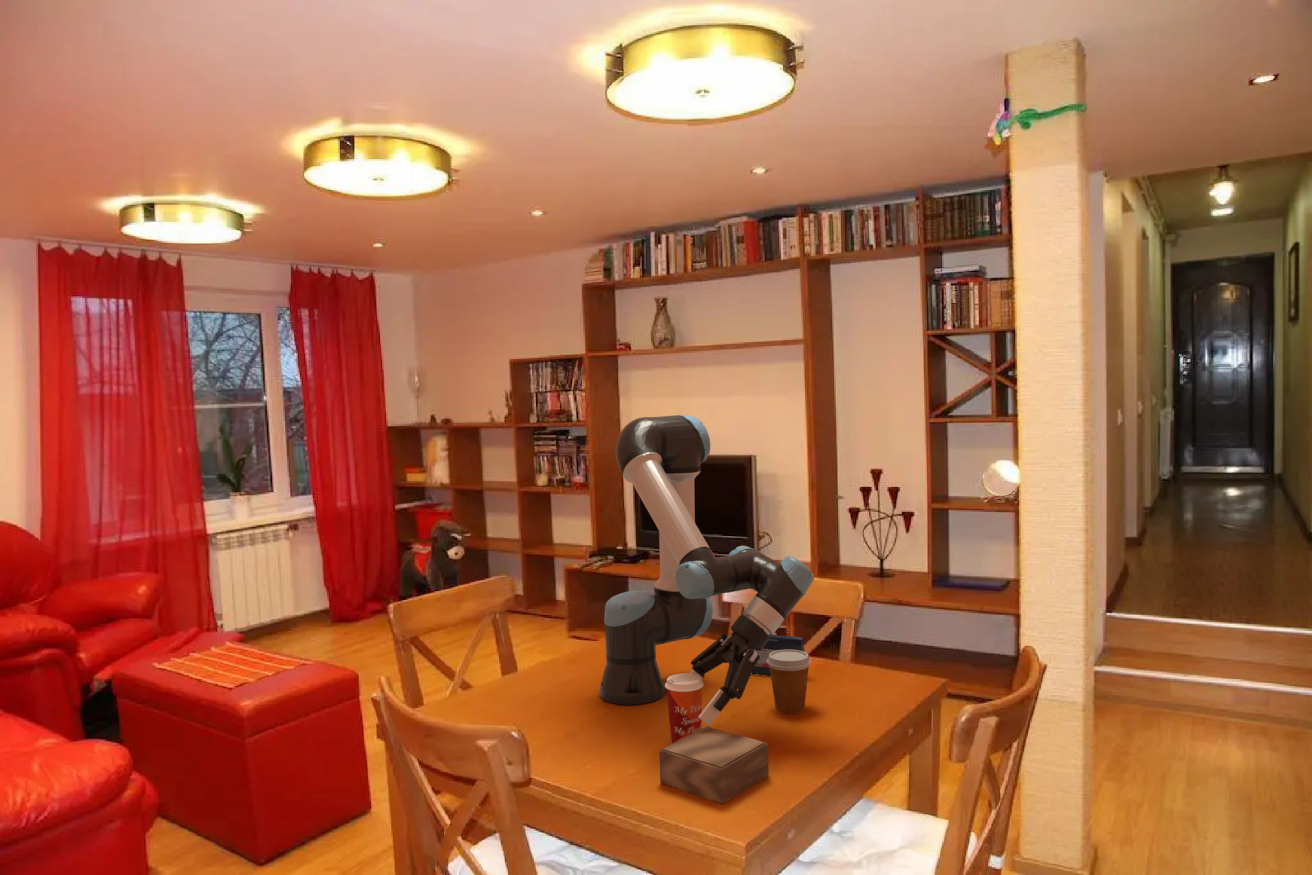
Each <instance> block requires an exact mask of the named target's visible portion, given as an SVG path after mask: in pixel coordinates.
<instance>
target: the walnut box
mask: <svg viewBox="0 0 1312 875" xmlns="http://www.w3.org/2000/svg"><path fill="white" fill-rule="evenodd" d="M768 748H769V743H767V742H765V741H761V740H758V739H755V738H750V737H747V736H744V735H740V734H737V733H733V732H729V731H725V730H723V729H722V730H721V729H719V728H715V727H711V726H708V725H707V726H704V727H703V728H702V727H701V729H700V730H698V731H697V732H695V733H693V734H691V735H689V736H687V737H685V738H683V739H681V740H679V741H677V742H675V743H673V744H672V743H670V744H669V745H667V746H665V747H663V748H661V749H659V750H658V752H659V777H660V778H659V779H660V784H663V783H665V784H664V785H666V784H667V786H668V785H669V786H668V787H671V786H672V788H674V787H676V788H675V789H677V788H678V790H680V789H681V791H683V792H686V791H687V792H686V793H688V794H692V795H695V796H697V795H698V797H700V796H701V798H704V799H707V800H710V801H712V800H714V801H713V802H715V801H717V802H716V803H718V802H719V803H718V804H721V803H722V804H721V805H724V804H726V803H727V802H729V801H730V800H732V799H733V797H734V798H735V797H737V796H738V795H740V794H742V793H743V792H745V791H746V790H748V789H749V787H750V788H752V787H754V785H756V784H758V783H759V782H760V780H761V781H762V780H764V779H766V778H768V777H769V776H768V775H769V749H768ZM763 778H764V779H763ZM755 783H756V784H755ZM741 792H742V793H741ZM736 795H737V796H736ZM731 798H732V799H731ZM728 800H729V801H728ZM726 801H727V802H726ZM725 802H726V803H725ZM723 803H724V804H723Z"/></svg>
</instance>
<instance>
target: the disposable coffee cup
mask: <svg viewBox="0 0 1312 875" xmlns="http://www.w3.org/2000/svg"><path fill="white" fill-rule="evenodd" d="M811 660H812V659H810V656H809V654H808V653H807V652H805V651H804V652H803V651H799V650H777V651H774V652H771V653H770V654H769V657H768V659H767V663H768V665H769V668H770V674H771V677H770V680H771V686H772V693H773V699H774V700H773V701H774V706H775V710H776V711H777V712H778V713H781V714H787V715H794V714H800V713H803V712H804V711H805V708H806V699H807V698H806V697H807V690H808V689H807V688H808V687H807V686H808V676H809V667H810V665H811V662H812V661H811Z"/></svg>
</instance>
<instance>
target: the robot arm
mask: <svg viewBox="0 0 1312 875" xmlns="http://www.w3.org/2000/svg"><path fill="white" fill-rule="evenodd" d="M710 453H711V439H710V435H709V432H708V430H707V427H706V425H704V423H703V422H702V421H701V420H700V419H699V418H698V417H696V416H693V415H684V414H683V415H681V414H676V415H664V416H663V415H662V416H651V417H650V416H649V417H648V416H643V417H639V418H636V419H634V420H631V421H630V422H628V423H627V424H626V425H625V426H624V427H623V428H622V430H620V433H619V434H618V437H617V440H616V445H615V459H616V463H617V466H618V469H619V471H620V473H621V475H622V476H623V478H624V480H625V481H626V482H628V483H632V486H633V487H634V489H635V490H636V492H637V494H638V496H639V497H640V499H641V501H642V503H643V505H644V506H645V508H646V510H647V512H648V514H649V515H650V517H651V519H652V520H653V522H654V524H655V526H656V528H657V530H658V532H659V536H658V538H659V578H658V579H657V580H656V581H655V582H654V584H653V593H652V592H651V591H649V590H646V589H645V590H644V589H643V590H641V589H640V590H639V589H638V590H634V591H633V590H630V591H629V590H628V591H624V592H622V593H618V594H616V595H614V596H612V597H610V598H608V600H607V601H606V603H605V606H604V617H603V622H604V630H605V631H604V632H605V634H604V635H605V652H606V653H605V655H606V662H605V667H604V670H603V674H602V681H601V682H600V685H599V692H600V693H599V694H600V698H601V699H602V700H603V701H604V702H607V703H610V704H615V705H627V706H628V705H630V706H633V705H643V704H648V703H651V702H655V701H657V700H659V699H661V698H662V697H664V696H665V692H666V691H665V690H666V687H665V681H664V679H663V678H662V676H661V672H660V668H659V665H658V662H657V652H656V651H657V646H659V645H663V644H664V645H665V644H667V643H672V642H678V641H682V640H690V639H693V638H694V637H699V636H701V635H703V634H704V633H705V632H706V631H707V630H708V628H709V626H710V624H711V622H712V619H713V618H712V617H713V602H712V600H711V599H710V597H712V596H718V595H722V594H726V593H727V594H729V593H735V592H740V591H745V590H752V591H754V592H757V593H756V594H755V596H753V597H752V599H751V600H750V601H749V603H748V604H747V605H746V607H744V609H743V612H742V613H743V614H741V615H739V616H738V617H737V618H736V619H735V621H734V622H733V623H732V625H731V626H730V630H731V632H732V633H733V635H731V636H729V635H728V634H727V633H726V632H723V633H721V634H720V636H719V637H718V638H717V639H716V640H715V641H714V642H713V643H712V644H710V645H709V646H708V647H707V648H705V649H704V650H703V651H702V652H701V653H699V654H698V655H696V656H695V657H694V658H693V659H692V660H691V662H690V664H691V665H692V666H691V669H692V670H691V671H690V672H688V673H689V674H695V675H698V676H700V678H701V679H702V680H703V679H705V677H706V676H705V674H707V673H709V672H710V671H712V670H714V669H715V668H717V667H719V666H720V665H723V664H728V669H727V672H726V676H725V680H724V682H723V686H721V687H720V688H719V689H718V691H716V693H715V695H714V696H713V697H712V698H711V700H710V701H709V702H708V704H707V705H706V706H705V707H704V709H702V713H701V714H700V715H699V716H698V717H699V718H700V719H701V722H702V721H703V723H705V725H707V726H708V727H711V726H712V724H713V723H714V721H715V720H716V719H717V717H718V716H719V715H720V713H721V712H722V711H723V710H724V709H725V707H726V706H727V705H728V703H729V702H730V701H731V700H733V699H735V698H736V700H740V699H741V698H742V696H743V694H744V692H745V690H746V687H747V685H748V682H749V680H750V677H751V675H752V674H751V673H752V671H753V668H754V666H755V664H756V663H757V661H758V660H759V658H760V656H759V655H758V654H757V653H756V652H755V651H754V649H755V650H756V651H761V650H762V648H763V647H764V646H765V645H766V643H767V642H768V641H769V638H770V637H769V634H770V635H775V633H776V631H777V630H778V629H780V627H781V625H782V623H783V622H784V621H785V619H786V618H787V617H788V615H789V614H790V613H791V611H792V610H793V609H794V608H795V607H796V605H797V604H798V603H799V601H801V599H802V598H803V596H805V595H806V594H807V592H808V590H809V588H810V587H811V585H812V583H814V580H815V576H814V573H813V572H812V570H811V569H810V568H809V567H808V566H807V565H805V564H804V563H803V562H802V561H800V560H799V559H798V558H795V557H794V556H790V555H787V556H786V557H784V558H783V560H781V561H780V562H779V561H777V560H774V559H772V558H770V557H769V556H767V555H765V553H762V552H761V551H759V550H758V549H755V548H752V547H749V546H746V545H740V546H737V547H735V549H733V550H731V551H730V552H729V553H728V555H726V556H720V557H719V556H717V557H716V556H715V554H714V553H713V551H712V549H711V548H710V546H709V545H708V543H707V540H706V539H705V538H704V535H703V534H702V533H701V530H700V529H699V527H698V526H697V524H696V519H695V518H696V517H695V514H696V513H695V506H696V505H695V479H696V477H697V476H698V475H699V474H700V473H701V464H702V463H703V462H705V461H707V459H708V457H709V455H710Z"/></svg>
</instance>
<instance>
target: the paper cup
mask: <svg viewBox="0 0 1312 875" xmlns="http://www.w3.org/2000/svg"><path fill="white" fill-rule="evenodd" d="M689 673H690V672H683V673H682V672H681V673H674V674H671V675H670V676H668V677H667V678H666V682H665V683H664V687H665V689H666V695H667V696H666V697H667V707H668V718H669V719H668V720H669V730H670V740H671V744H673V743H675V742H677V741H679V740H681V739H683V738H685V737H687V736H689V735H691V734H693V733H695V732H697V731H698V730H700V729H702V720H701V719H700V718H699V717H698V716H699V715H700V714H701V713H702V711H703V709H702V707H703V706H702V705H703V687H704V685H705V684H704V682H703V679H701V678H700V676H698V675H695V674H689Z"/></svg>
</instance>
